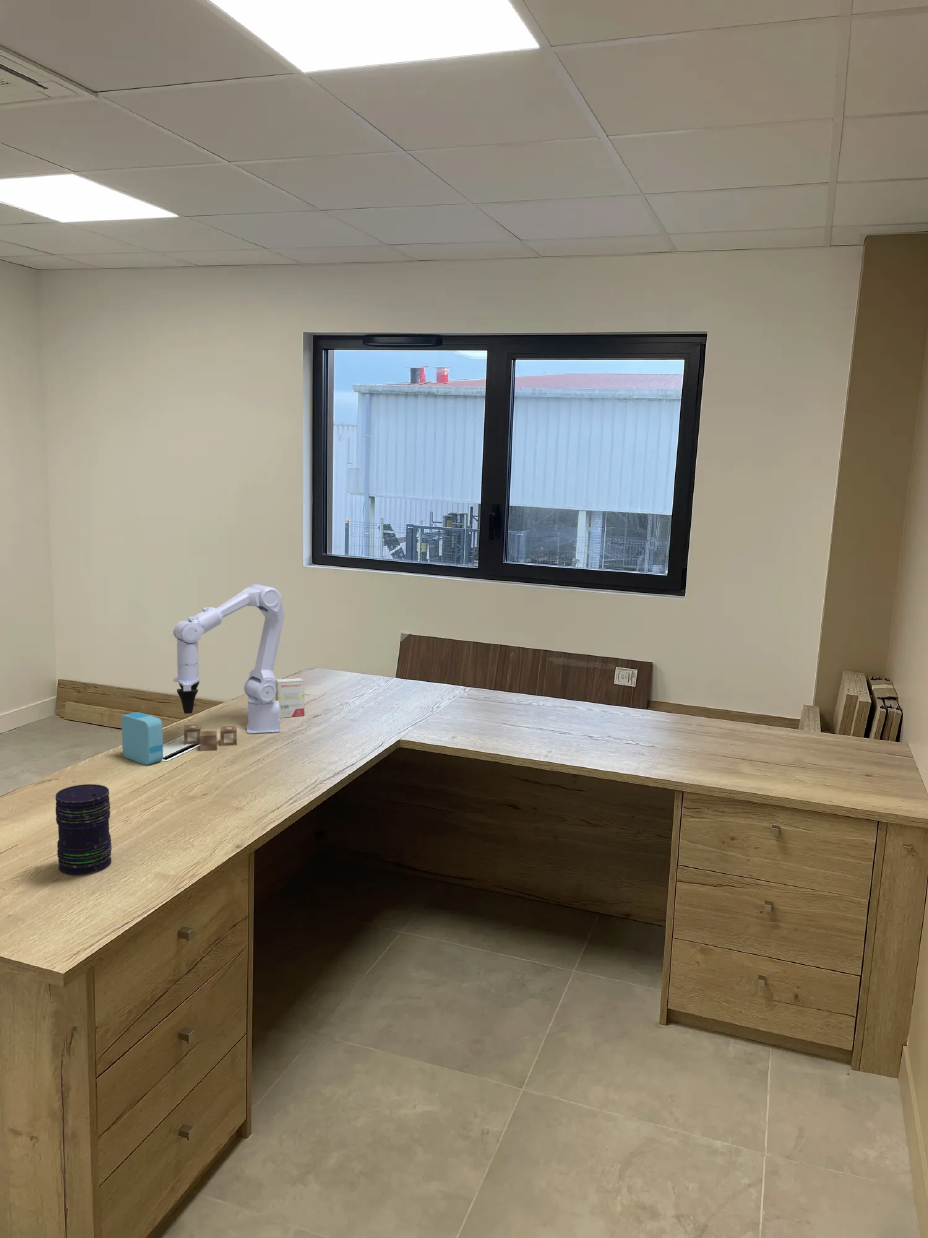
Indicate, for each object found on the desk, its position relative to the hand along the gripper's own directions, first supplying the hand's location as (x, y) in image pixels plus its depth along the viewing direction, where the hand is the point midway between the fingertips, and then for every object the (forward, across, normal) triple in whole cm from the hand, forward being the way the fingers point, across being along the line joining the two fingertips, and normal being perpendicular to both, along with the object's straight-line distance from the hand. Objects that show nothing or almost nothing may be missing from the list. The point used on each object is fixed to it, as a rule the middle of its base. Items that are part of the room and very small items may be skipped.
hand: (188, 709), depth 253 cm
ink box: (+10, -25, +30) cm, 40 cm away
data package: (+10, +14, -12) cm, 21 cm away
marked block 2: (+10, +2, +11) cm, 15 cm away
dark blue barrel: (+10, +79, -16) cm, 81 cm away
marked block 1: (+10, 0, +1) cm, 10 cm away
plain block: (+10, +7, +5) cm, 13 cm away
